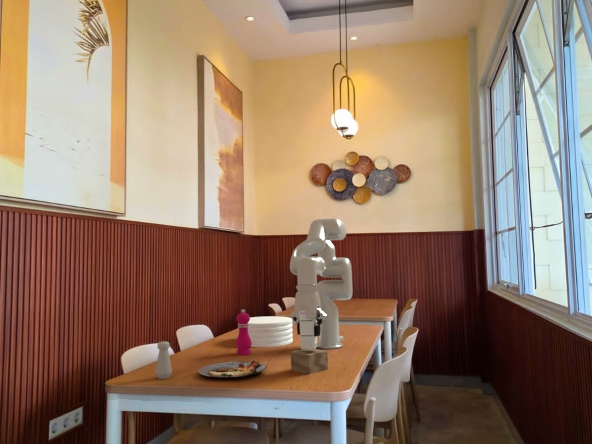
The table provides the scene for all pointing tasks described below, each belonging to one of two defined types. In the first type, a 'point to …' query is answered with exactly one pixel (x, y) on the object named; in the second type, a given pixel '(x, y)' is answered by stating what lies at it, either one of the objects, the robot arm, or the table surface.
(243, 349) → the pepper mill
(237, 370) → the food plate
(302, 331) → the syrup box
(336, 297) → the robot arm
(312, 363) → the walnut block
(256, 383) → the table surface
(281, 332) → the plate stack
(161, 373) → the salt shaker
